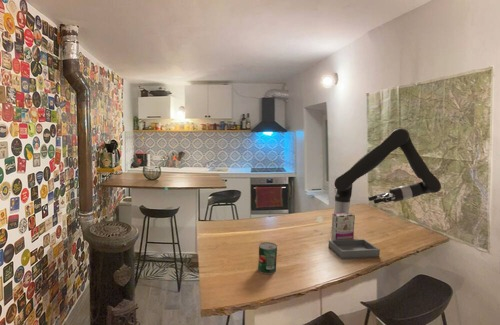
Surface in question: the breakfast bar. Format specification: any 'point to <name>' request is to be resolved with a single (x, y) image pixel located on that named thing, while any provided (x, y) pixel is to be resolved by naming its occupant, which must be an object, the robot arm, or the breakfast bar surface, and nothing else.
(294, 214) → the breakfast bar surface
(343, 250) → the tray
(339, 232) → the candy bar box
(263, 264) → the canned tomato
